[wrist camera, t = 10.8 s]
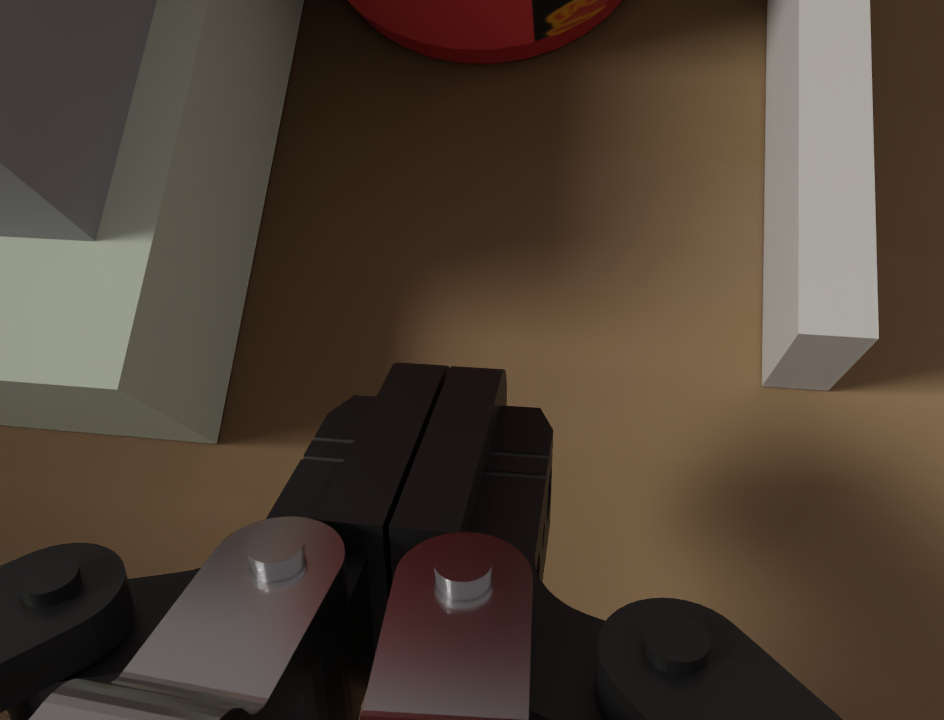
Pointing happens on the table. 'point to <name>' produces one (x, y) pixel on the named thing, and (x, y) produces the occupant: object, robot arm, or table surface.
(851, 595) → the table surface
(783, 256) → the white open tray
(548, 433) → the robot arm
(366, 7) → the canned food
